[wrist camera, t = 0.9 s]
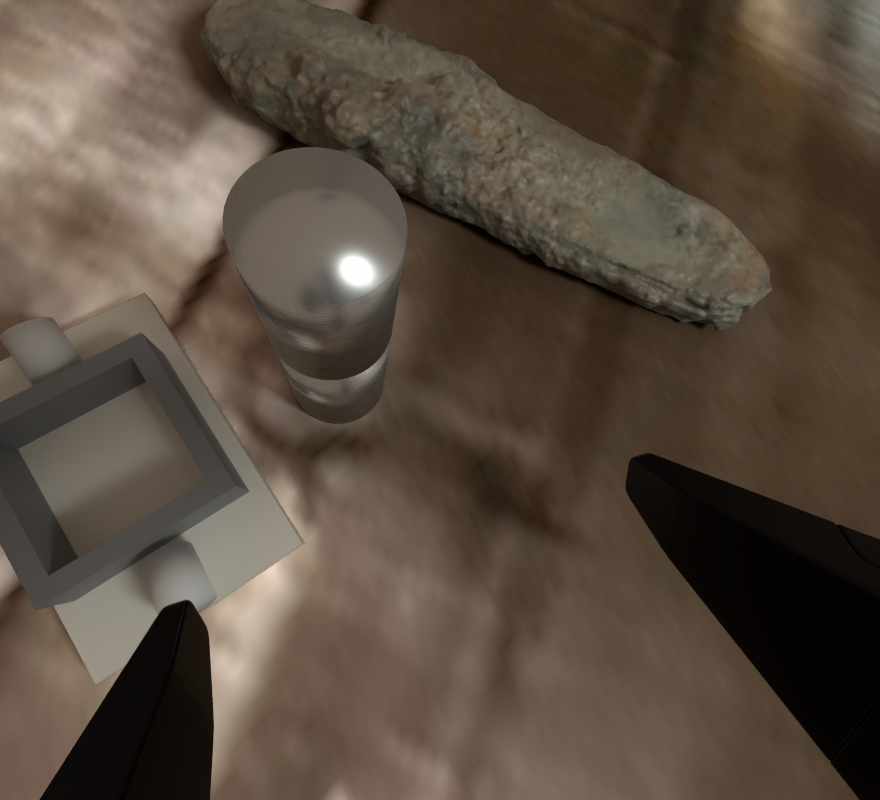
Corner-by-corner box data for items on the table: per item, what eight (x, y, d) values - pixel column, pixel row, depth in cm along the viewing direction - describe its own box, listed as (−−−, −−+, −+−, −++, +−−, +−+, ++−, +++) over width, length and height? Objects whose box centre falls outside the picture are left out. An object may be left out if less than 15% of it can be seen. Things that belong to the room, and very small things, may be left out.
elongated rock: (706, 385, 30) (734, 262, 33) (782, 352, 25) (805, 212, 29) (165, 104, 27) (259, 3, 31) (131, 4, 22) (247, -102, 26)
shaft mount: (304, 543, 22) (295, 544, 19) (108, 677, 20) (57, 706, 17) (153, 301, 24) (120, 264, 21) (-44, 396, 22) (-117, 371, 18)
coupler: (394, 409, 25) (429, 282, 12) (305, 434, 24) (245, 322, 11) (369, 329, 26) (379, 135, 13) (282, 350, 25) (205, 161, 12)
